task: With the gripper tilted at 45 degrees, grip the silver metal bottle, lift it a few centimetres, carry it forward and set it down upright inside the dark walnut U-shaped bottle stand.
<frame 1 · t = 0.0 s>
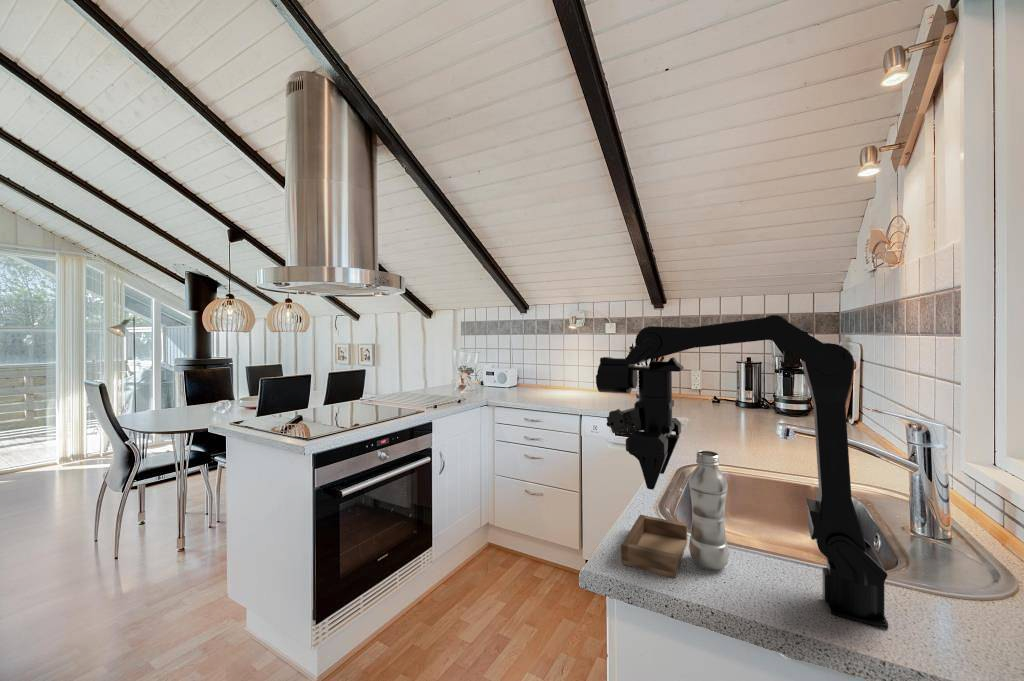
hand: (656, 480, 76), 15 cm above the countertop, tool pointing down, fingers open, 9 cm apart
silver metal bottle: (708, 565, 75), on the countertop
bottle stand: (656, 552, 80), on the countertop
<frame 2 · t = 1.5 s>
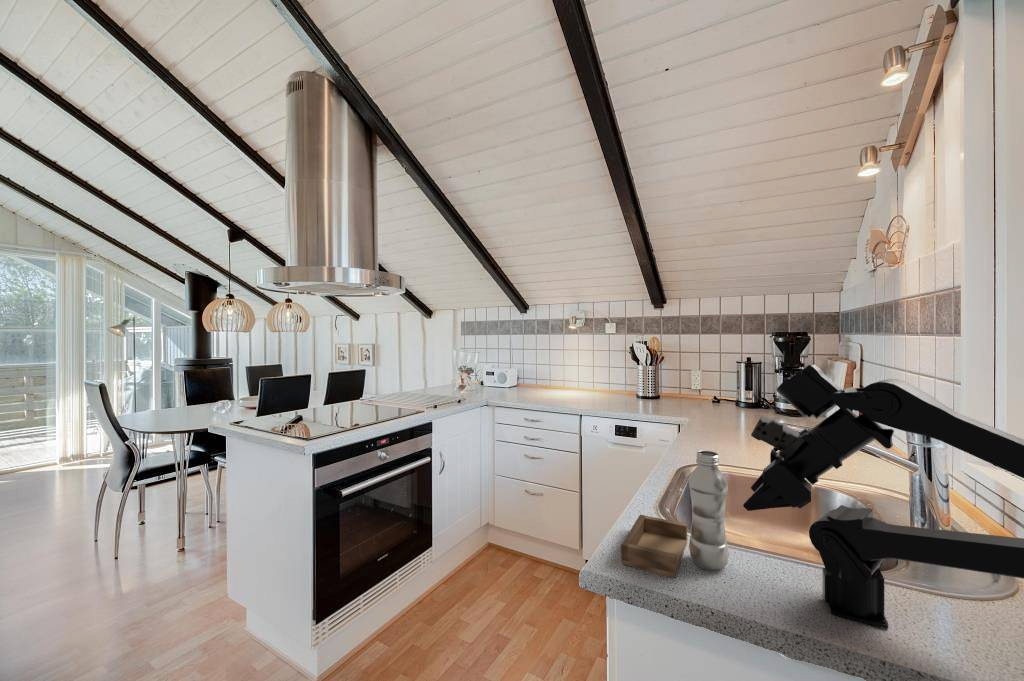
hand: (749, 498, 71), 14 cm above the countertop, tool tilted 45°, fingers open, 9 cm apart
nothing on the countertop moved.
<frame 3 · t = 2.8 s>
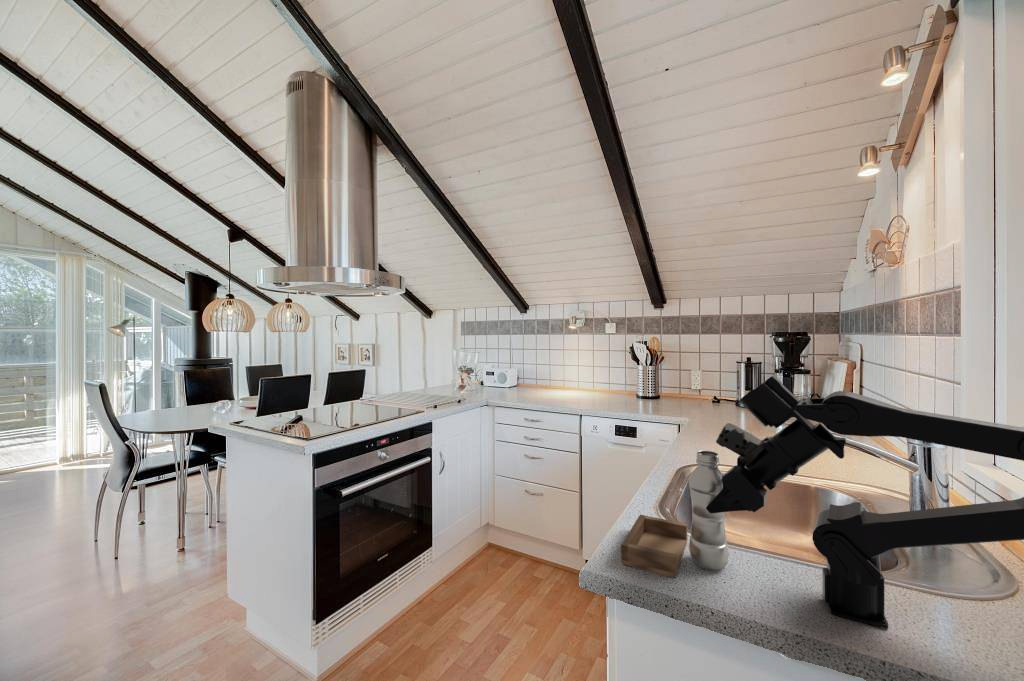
hand: (714, 501, 74), 12 cm above the countertop, tool tilted 45°, fingers open, 9 cm apart
nothing on the countertop moved.
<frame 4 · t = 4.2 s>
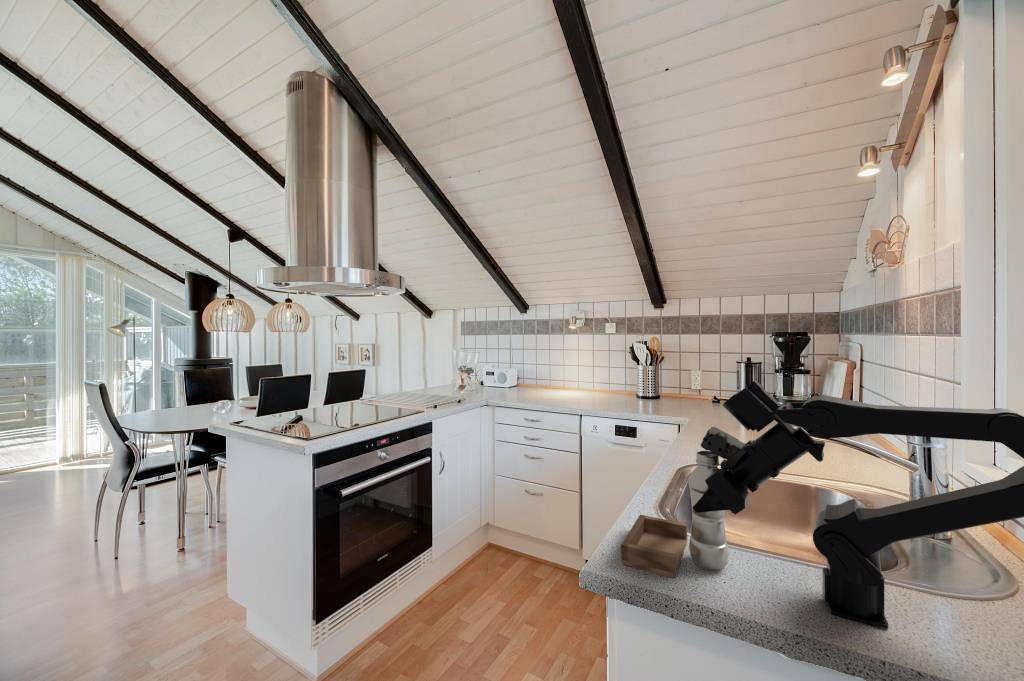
hand: (699, 503, 76), 11 cm above the countertop, tool tilted 45°, fingers closed on silver metal bottle, 6 cm apart
silver metal bottle: (708, 565, 75), on the countertop, touching gripper
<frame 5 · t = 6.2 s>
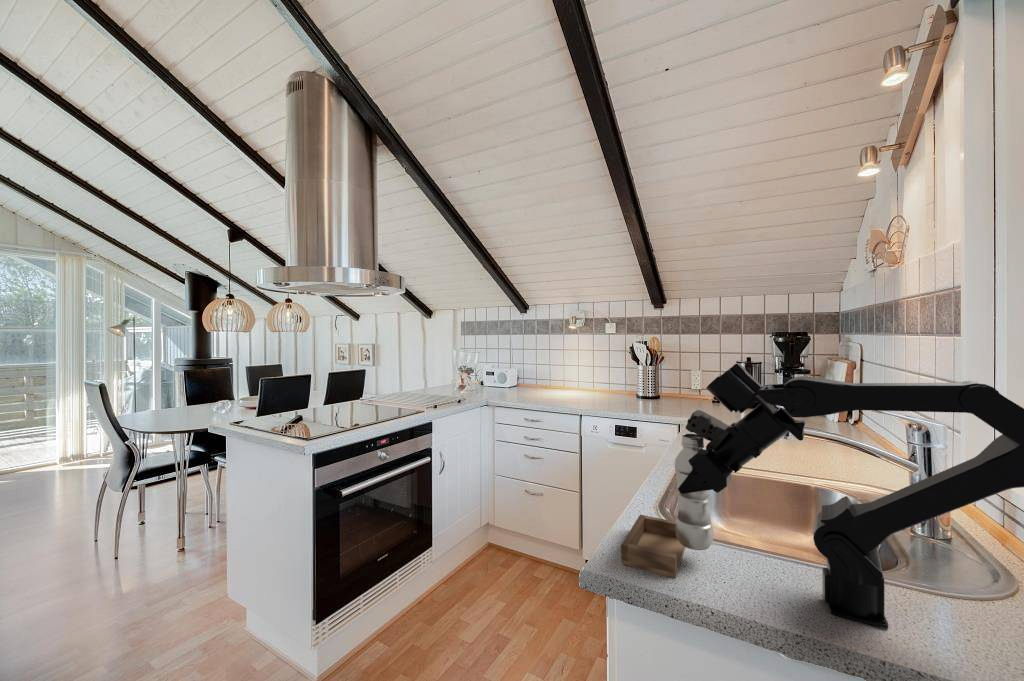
hand: (685, 485, 77), 13 cm above the countertop, tool tilted 45°, fingers closed on silver metal bottle, 6 cm apart
silver metal bottle: (694, 546, 76), point 3 cm above the countertop, touching gripper
when the fingers open (12 cm above the countertop, at t = 8.0 s): silver metal bottle stays where it is, resting on bottle stand.
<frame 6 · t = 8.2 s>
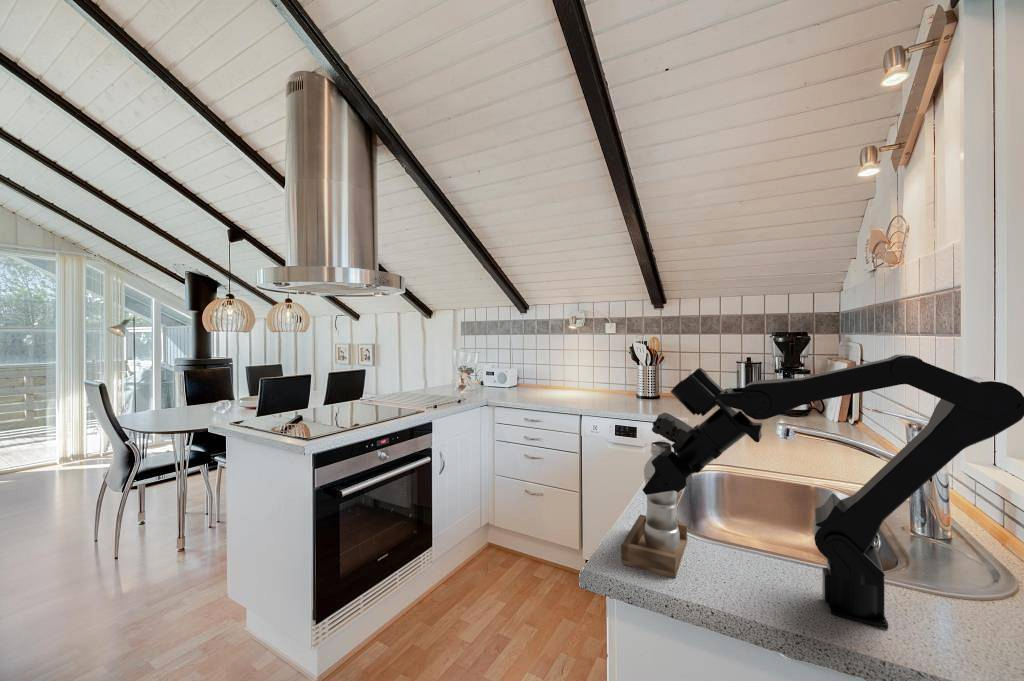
hand: (652, 485, 80), 13 cm above the countertop, tool tilted 45°, fingers open, 8 cm apart
silver metal bottle: (661, 550, 79), point 1 cm above the countertop, touching bottle stand
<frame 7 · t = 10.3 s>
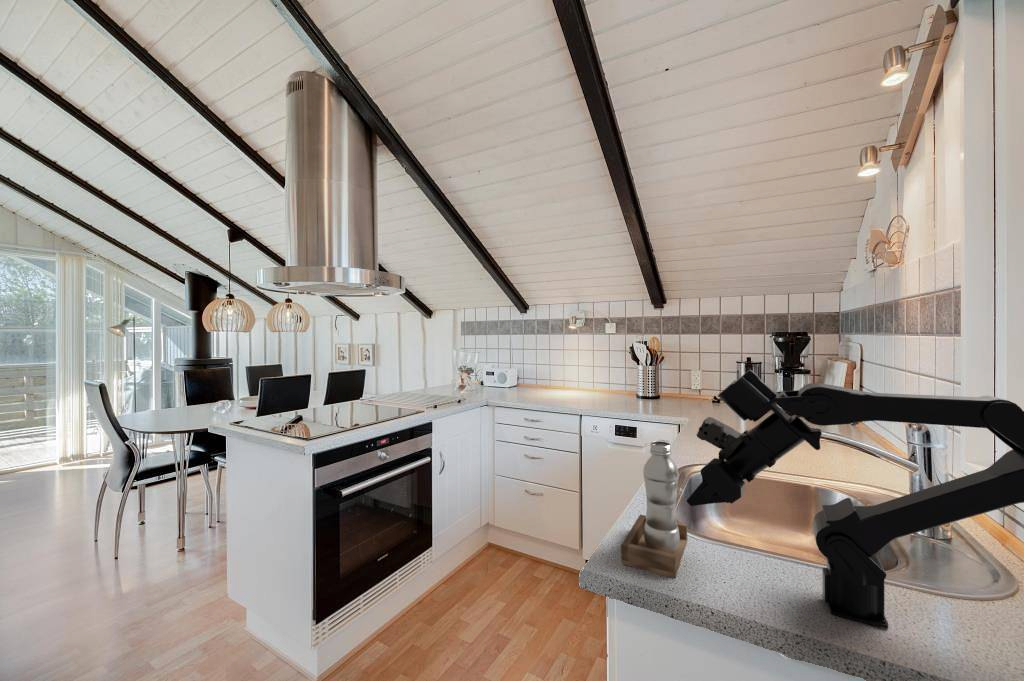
hand: (696, 494, 75), 13 cm above the countertop, tool tilted 45°, fingers open, 9 cm apart
nothing on the countertop moved.
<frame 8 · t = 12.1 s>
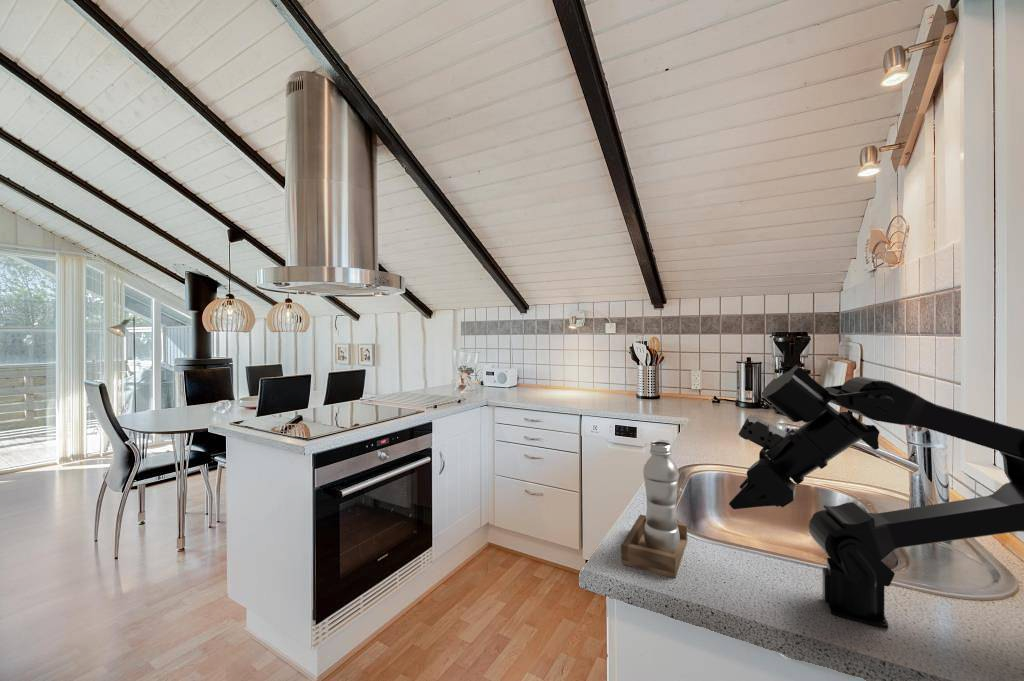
hand: (736, 497, 71), 14 cm above the countertop, tool tilted 45°, fingers open, 9 cm apart
nothing on the countertop moved.
at the end: silver metal bottle inside the target area on the bottle stand (0.5 cm from its centre), point 0.6 cm above the bottle stand's base; silver metal bottle tilted 0°; the gripper is holding nothing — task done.
